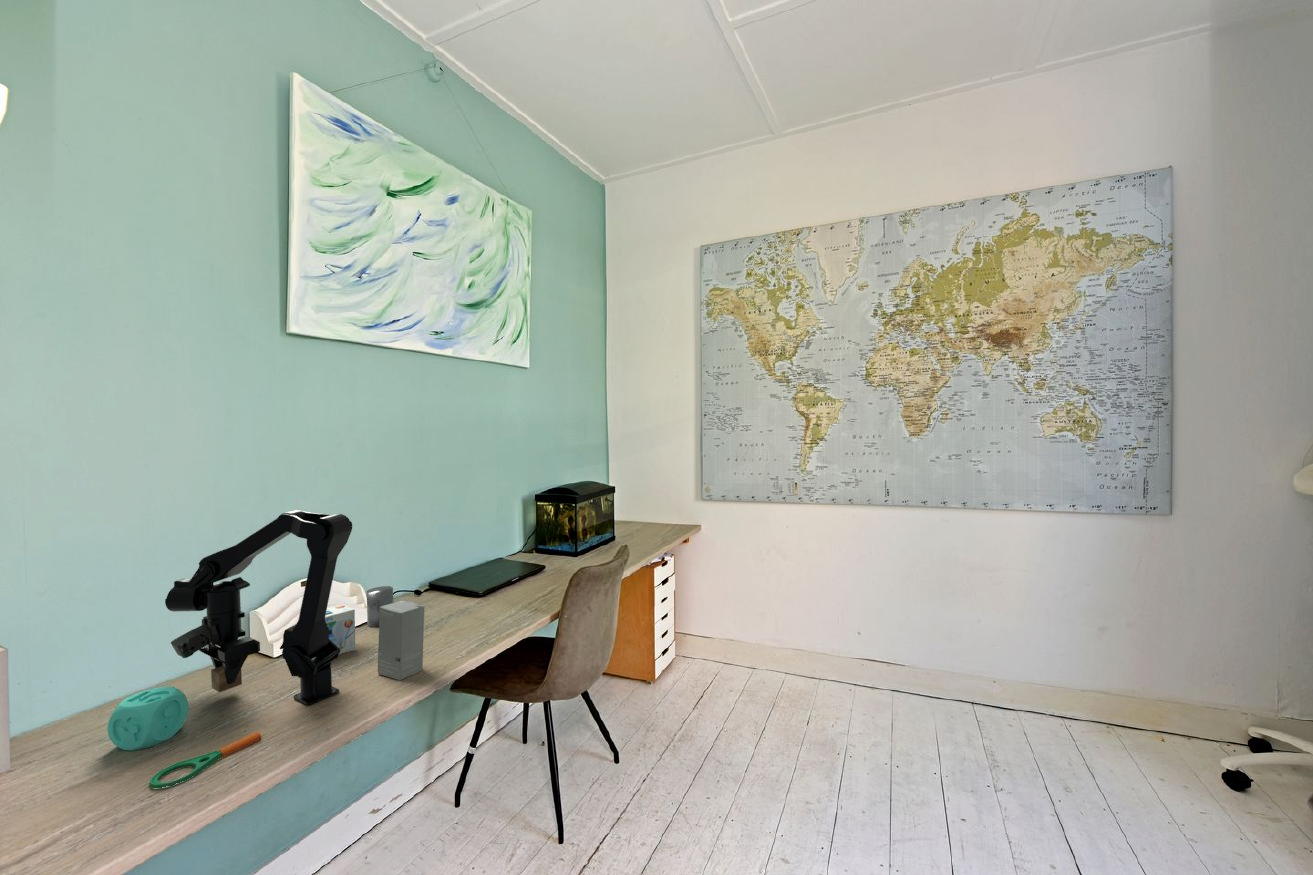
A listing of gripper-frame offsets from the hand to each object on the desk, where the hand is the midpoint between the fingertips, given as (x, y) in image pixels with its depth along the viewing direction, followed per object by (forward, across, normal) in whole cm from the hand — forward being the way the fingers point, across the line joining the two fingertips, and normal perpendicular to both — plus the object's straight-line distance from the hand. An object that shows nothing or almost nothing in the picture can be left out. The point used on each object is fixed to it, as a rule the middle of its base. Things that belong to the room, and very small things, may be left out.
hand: (226, 681), depth 114 cm
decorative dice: (+4, +6, -14) cm, 16 cm away
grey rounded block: (+3, -13, +42) cm, 44 cm away
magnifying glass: (+4, +25, -11) cm, 28 cm away
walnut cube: (+1, 0, 0) cm, 1 cm away
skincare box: (+4, +23, +26) cm, 35 cm away
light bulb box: (+4, -4, +23) cm, 24 cm away
